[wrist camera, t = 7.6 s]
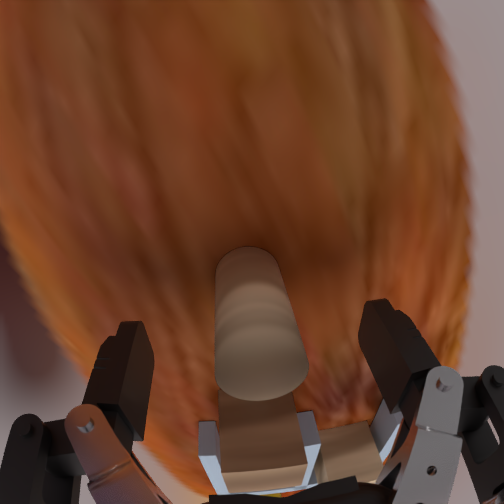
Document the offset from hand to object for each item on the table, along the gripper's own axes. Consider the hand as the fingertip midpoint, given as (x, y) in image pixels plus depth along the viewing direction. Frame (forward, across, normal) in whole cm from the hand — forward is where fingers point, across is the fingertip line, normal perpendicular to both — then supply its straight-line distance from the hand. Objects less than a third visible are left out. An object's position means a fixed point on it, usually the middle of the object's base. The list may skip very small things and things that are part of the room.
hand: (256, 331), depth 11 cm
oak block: (+4, -7, +19) cm, 21 cm away
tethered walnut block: (+4, 0, +6) cm, 7 cm away
